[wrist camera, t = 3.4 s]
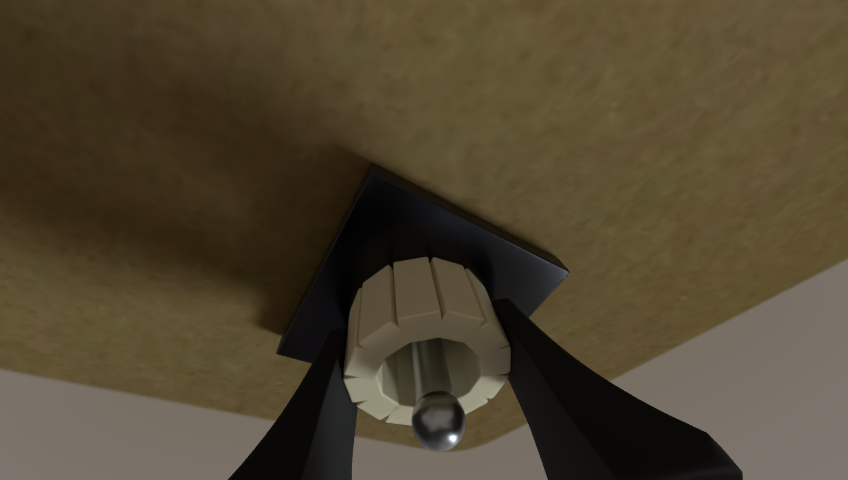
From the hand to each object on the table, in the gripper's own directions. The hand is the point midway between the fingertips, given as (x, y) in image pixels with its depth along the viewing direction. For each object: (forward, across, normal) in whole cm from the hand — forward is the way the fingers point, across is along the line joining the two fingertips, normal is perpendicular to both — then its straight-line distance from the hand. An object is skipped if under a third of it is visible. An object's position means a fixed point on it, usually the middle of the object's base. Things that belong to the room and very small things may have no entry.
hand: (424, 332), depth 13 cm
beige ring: (+1, 0, 0) cm, 1 cm away
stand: (+2, 0, 0) cm, 2 cm away
